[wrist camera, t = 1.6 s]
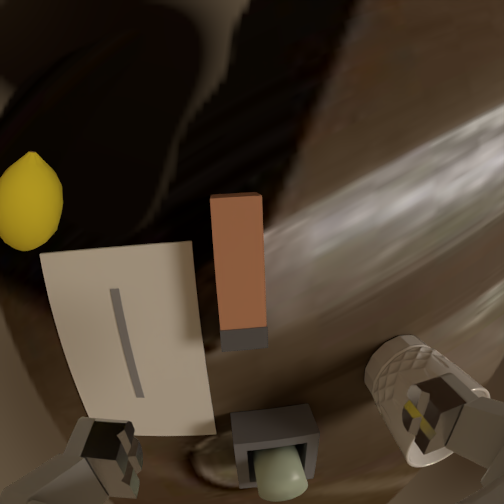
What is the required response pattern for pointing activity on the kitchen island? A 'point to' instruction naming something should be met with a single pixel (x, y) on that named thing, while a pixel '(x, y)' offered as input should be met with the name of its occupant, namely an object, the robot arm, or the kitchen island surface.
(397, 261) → the kitchen island surface
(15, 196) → the lemon
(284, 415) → the button housing
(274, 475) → the button
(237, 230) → the block
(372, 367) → the white cup
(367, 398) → the kitchen island surface
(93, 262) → the paper
